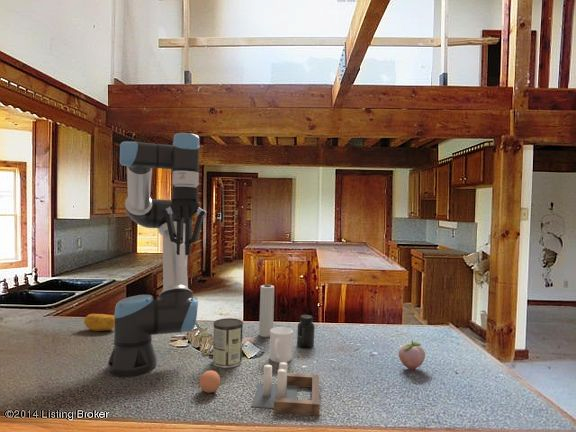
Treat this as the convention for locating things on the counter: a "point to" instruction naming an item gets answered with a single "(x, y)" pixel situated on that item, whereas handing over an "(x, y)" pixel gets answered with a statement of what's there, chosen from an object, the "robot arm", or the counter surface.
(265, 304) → the paper towel roll
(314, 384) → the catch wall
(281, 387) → the pin
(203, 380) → the ball
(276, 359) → the mug
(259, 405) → the pin deck mark
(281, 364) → the pin
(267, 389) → the front pin
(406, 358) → the decorative fruit
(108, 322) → the potato
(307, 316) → the supplement bottle
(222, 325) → the coffee can
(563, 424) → the counter surface
